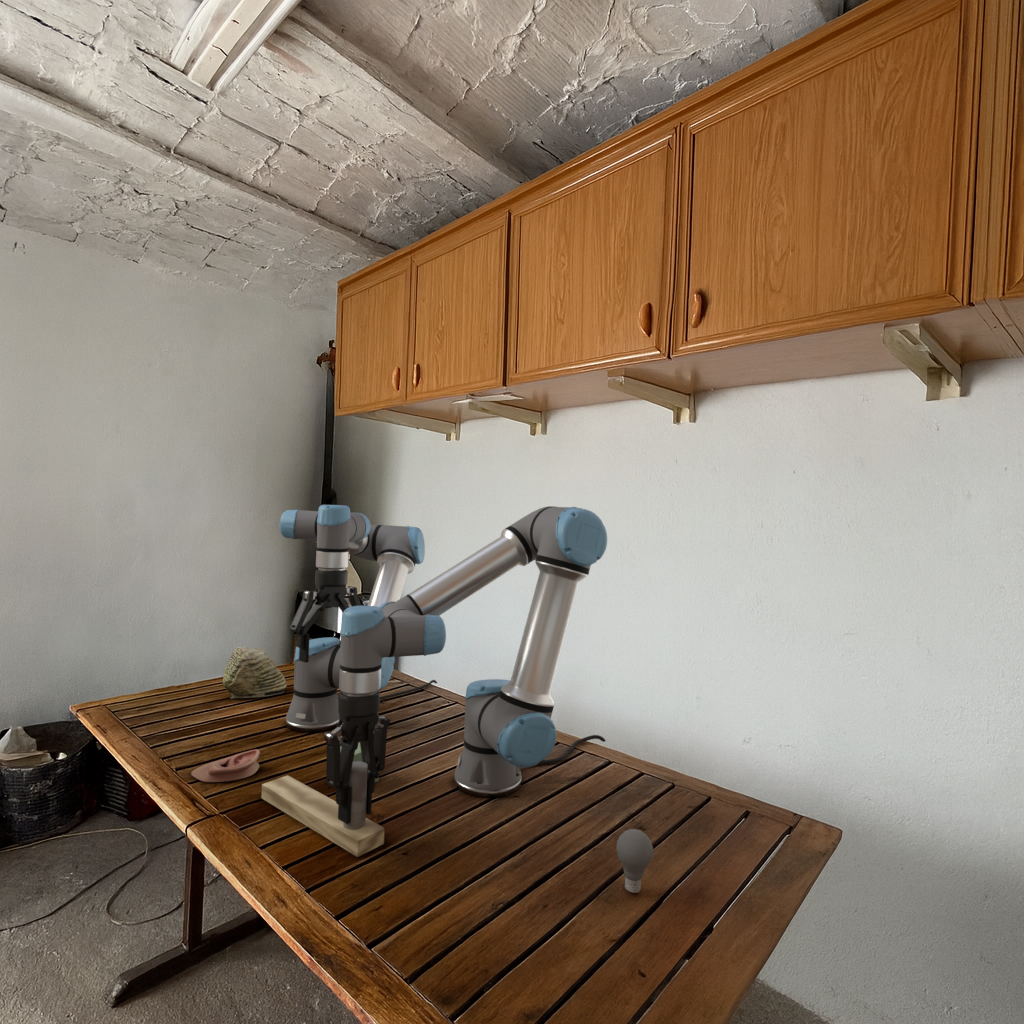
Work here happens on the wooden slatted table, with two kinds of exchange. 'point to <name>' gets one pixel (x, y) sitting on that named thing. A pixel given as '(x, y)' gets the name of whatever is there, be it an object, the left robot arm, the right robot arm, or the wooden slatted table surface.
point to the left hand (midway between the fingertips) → (328, 656)
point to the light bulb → (634, 857)
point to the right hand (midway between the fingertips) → (354, 815)
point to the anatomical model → (229, 768)
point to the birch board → (329, 811)
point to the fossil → (252, 674)
